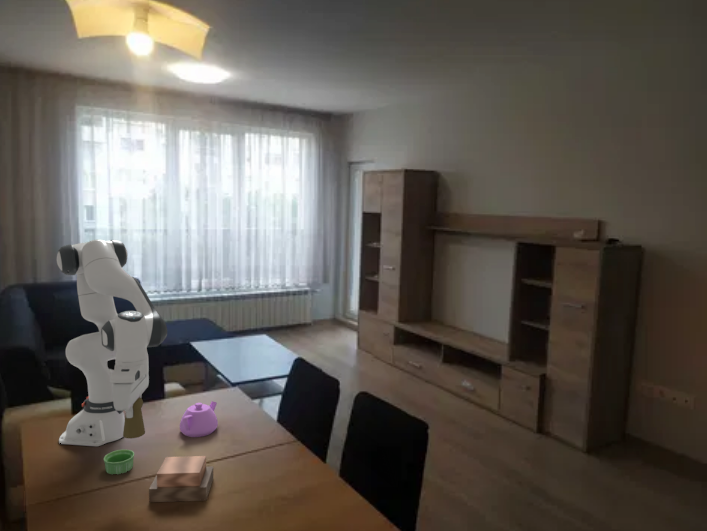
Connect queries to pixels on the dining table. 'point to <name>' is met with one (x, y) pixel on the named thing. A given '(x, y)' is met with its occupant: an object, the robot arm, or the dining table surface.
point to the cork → (134, 422)
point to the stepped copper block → (182, 480)
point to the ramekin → (119, 461)
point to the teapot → (199, 420)
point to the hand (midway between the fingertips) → (133, 413)
